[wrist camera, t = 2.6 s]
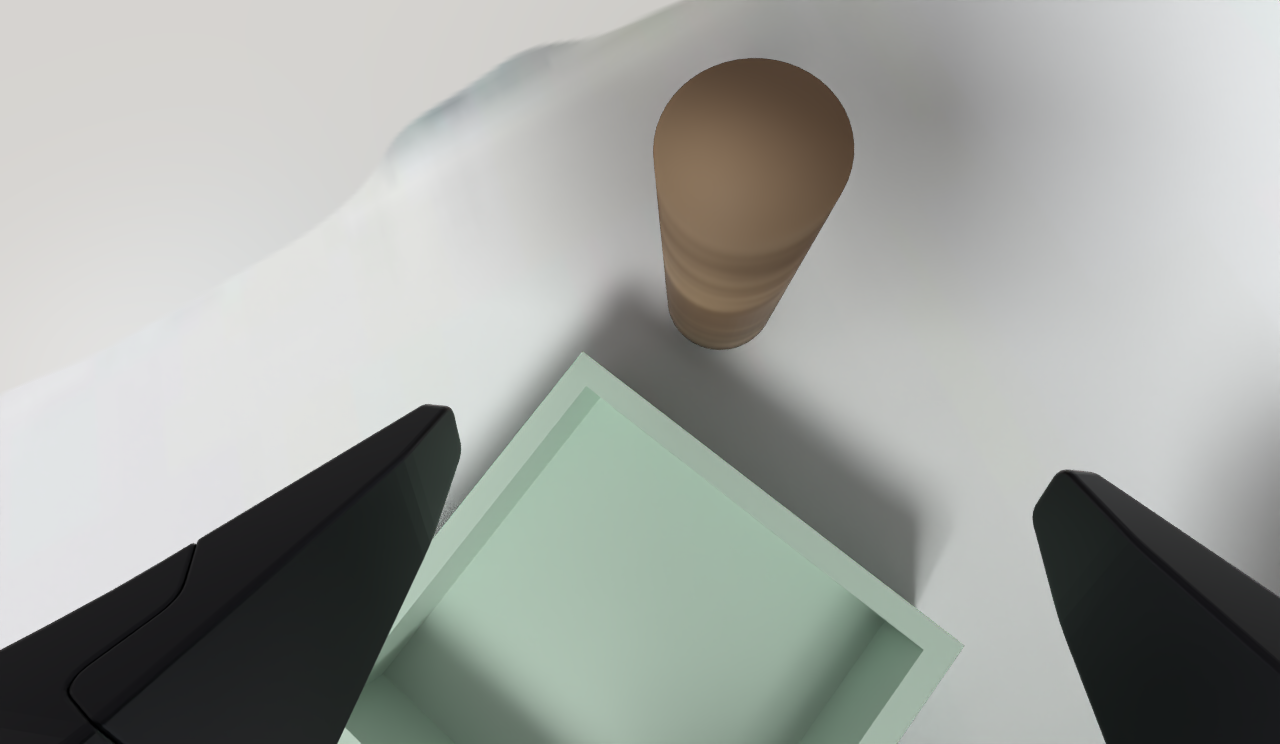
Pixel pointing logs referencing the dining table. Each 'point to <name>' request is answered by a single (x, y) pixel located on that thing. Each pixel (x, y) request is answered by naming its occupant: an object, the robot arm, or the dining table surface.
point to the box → (640, 603)
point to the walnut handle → (744, 191)
